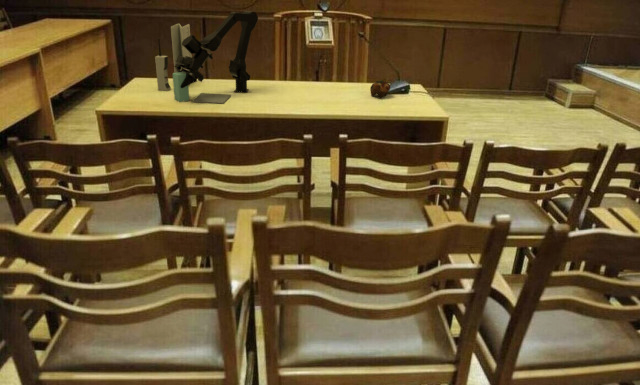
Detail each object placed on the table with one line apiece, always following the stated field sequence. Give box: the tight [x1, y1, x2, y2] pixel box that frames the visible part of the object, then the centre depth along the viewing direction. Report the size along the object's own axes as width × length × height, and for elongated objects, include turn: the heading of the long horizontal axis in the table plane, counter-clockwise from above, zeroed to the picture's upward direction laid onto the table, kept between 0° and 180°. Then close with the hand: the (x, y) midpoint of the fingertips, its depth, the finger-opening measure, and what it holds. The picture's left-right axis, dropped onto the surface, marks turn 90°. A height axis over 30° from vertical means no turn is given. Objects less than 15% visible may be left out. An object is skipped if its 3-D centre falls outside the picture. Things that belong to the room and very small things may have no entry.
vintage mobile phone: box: [154, 38, 172, 92], centre depth 247 cm, size 4×5×25 cm
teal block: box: [172, 72, 190, 103], centre depth 233 cm, size 5×5×12 cm
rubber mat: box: [191, 92, 232, 105], centre depth 240 cm, size 16×15×1 cm
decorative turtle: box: [369, 80, 391, 99], centre depth 257 cm, size 10×15×8 cm, turn 155°
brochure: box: [170, 23, 193, 87], centre depth 259 cm, size 14×6×30 cm, turn 179°
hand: (178, 86), depth 232 cm, fingers closed on teal block, 5 cm apart
